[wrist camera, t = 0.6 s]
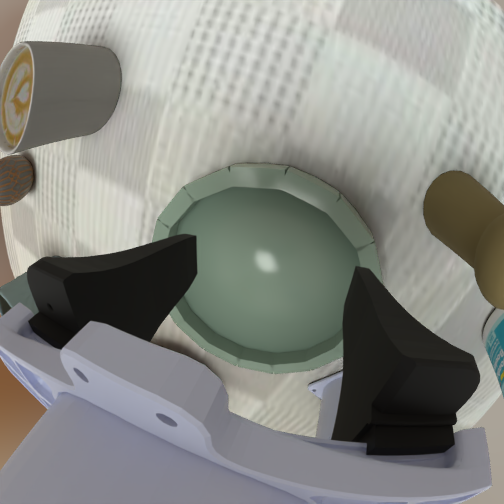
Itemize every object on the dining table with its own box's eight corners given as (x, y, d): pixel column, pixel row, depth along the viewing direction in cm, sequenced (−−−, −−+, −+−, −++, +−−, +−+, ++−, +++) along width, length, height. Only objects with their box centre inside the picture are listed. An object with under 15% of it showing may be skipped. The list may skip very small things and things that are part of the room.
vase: (39, 200, 29) (-8, 224, 22) (19, 188, 30) (-23, 208, 23) (38, 154, 26) (-14, 172, 18) (19, 147, 27) (-28, 163, 19)
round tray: (416, 296, 21) (422, 313, 19) (260, 375, 31) (254, 391, 29) (265, 109, 18) (256, 107, 16) (134, 257, 28) (120, 268, 26)
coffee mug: (138, 71, 19) (48, 66, 10) (92, 153, 24) (14, 177, 15) (77, 25, 17) (8, 21, 8) (43, 94, 22) (-21, 106, 13)
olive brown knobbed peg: (454, 154, 15) (544, 190, 6) (493, 207, 16) (571, 271, 6) (408, 209, 18) (465, 287, 9) (450, 256, 19) (504, 345, 9)
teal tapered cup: (42, 265, 36) (-8, 302, 25) (57, 238, 31) (-6, 279, 21) (75, 314, 38) (30, 357, 28) (97, 296, 34) (40, 349, 23)
